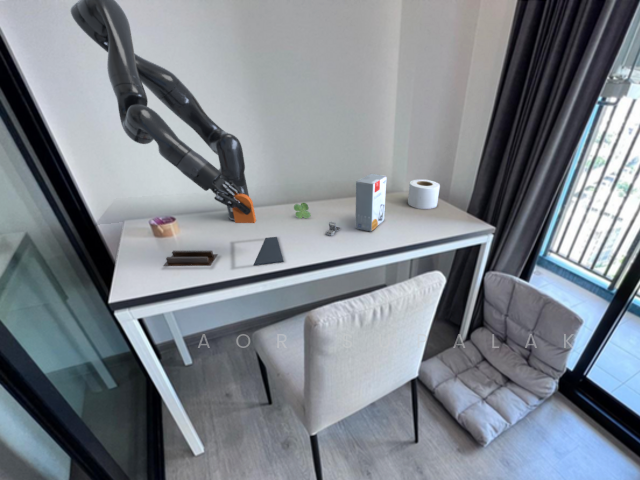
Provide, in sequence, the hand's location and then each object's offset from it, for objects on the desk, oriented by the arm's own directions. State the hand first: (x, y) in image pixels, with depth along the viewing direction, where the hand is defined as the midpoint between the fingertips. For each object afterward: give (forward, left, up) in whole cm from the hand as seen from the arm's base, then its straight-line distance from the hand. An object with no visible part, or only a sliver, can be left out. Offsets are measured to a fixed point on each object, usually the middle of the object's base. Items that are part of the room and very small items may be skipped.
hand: (250, 211), depth 106 cm
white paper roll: (-36, +83, -16) cm, 92 cm away
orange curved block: (-1, -2, -4) cm, 4 cm away
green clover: (-32, +22, -16) cm, 42 cm away
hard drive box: (-16, +47, -16) cm, 53 cm away
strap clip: (-12, +30, -16) cm, 36 cm away
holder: (+1, -20, -16) cm, 26 cm away
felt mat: (-2, 0, -16) cm, 16 cm away
